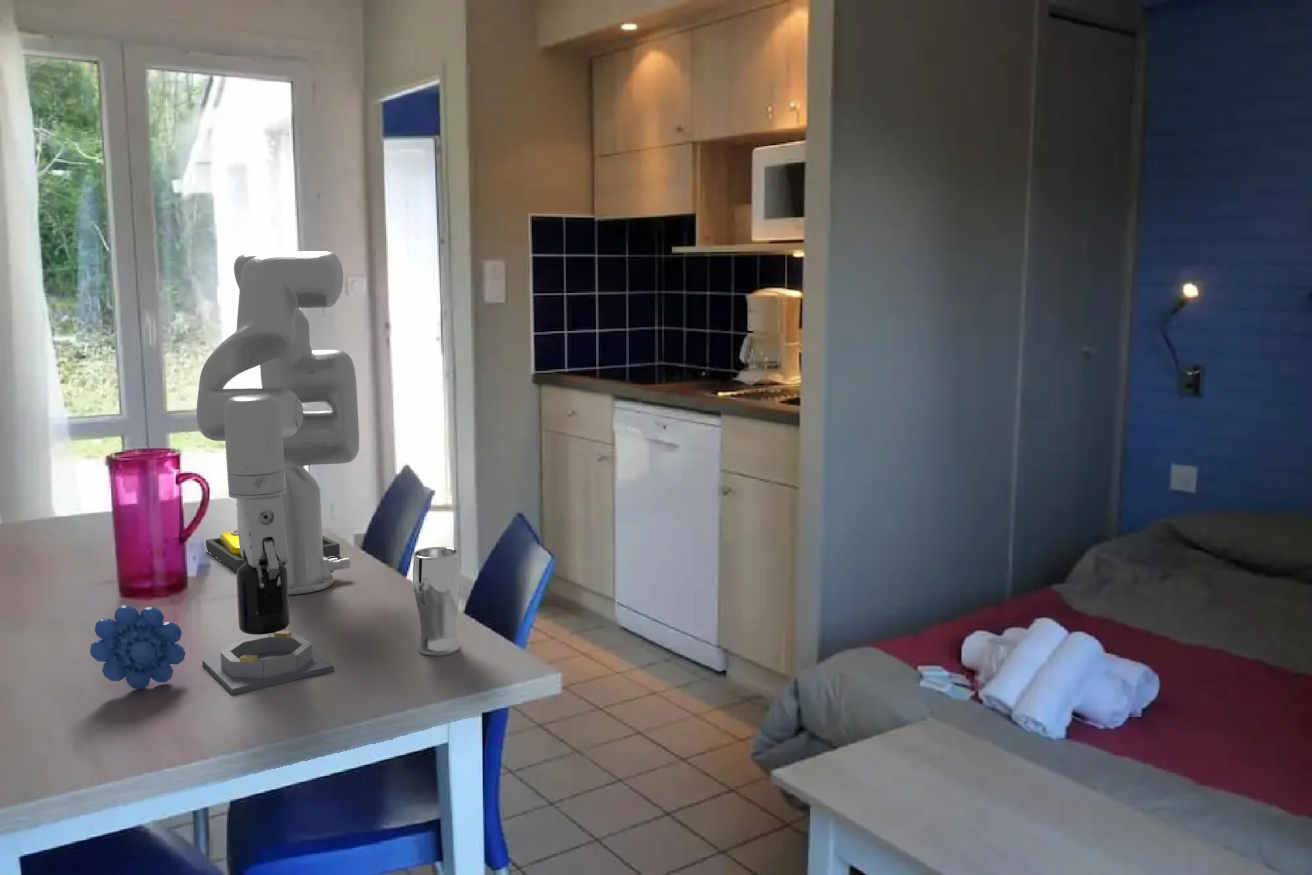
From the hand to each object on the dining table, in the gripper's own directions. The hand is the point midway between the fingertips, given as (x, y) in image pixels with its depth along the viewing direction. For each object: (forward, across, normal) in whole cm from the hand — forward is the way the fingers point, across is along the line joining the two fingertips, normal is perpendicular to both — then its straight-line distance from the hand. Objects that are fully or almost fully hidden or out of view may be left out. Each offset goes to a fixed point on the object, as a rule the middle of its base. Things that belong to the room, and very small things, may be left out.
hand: (264, 605), depth 153 cm
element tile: (+10, +66, -14) cm, 68 cm away
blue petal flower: (+9, 0, +16) cm, 19 cm away
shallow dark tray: (+9, +65, -15) cm, 67 cm away
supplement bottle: (+4, 0, 0) cm, 4 cm away
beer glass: (+9, -6, -24) cm, 26 cm away
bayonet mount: (+9, 0, 0) cm, 9 cm away
